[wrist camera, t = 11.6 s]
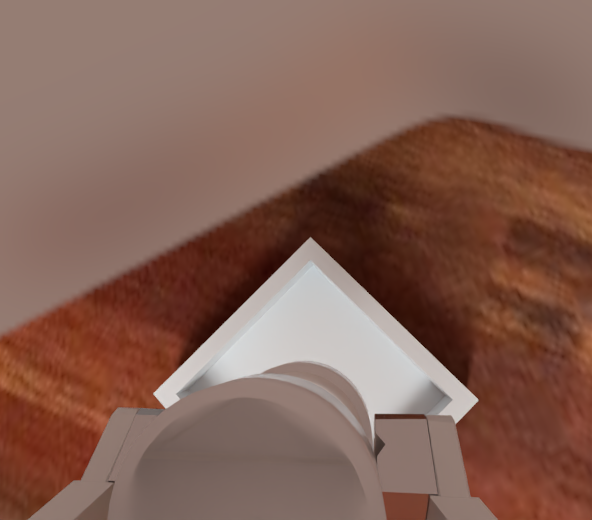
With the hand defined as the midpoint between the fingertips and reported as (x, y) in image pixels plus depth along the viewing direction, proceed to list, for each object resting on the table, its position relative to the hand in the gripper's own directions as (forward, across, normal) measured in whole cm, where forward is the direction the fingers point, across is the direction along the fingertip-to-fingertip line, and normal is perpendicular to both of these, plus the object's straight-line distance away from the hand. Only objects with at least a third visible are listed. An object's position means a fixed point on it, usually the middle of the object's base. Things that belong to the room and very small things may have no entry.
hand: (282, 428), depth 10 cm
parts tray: (+8, 0, +9) cm, 12 cm away
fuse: (+3, 0, +4) cm, 4 cm away
